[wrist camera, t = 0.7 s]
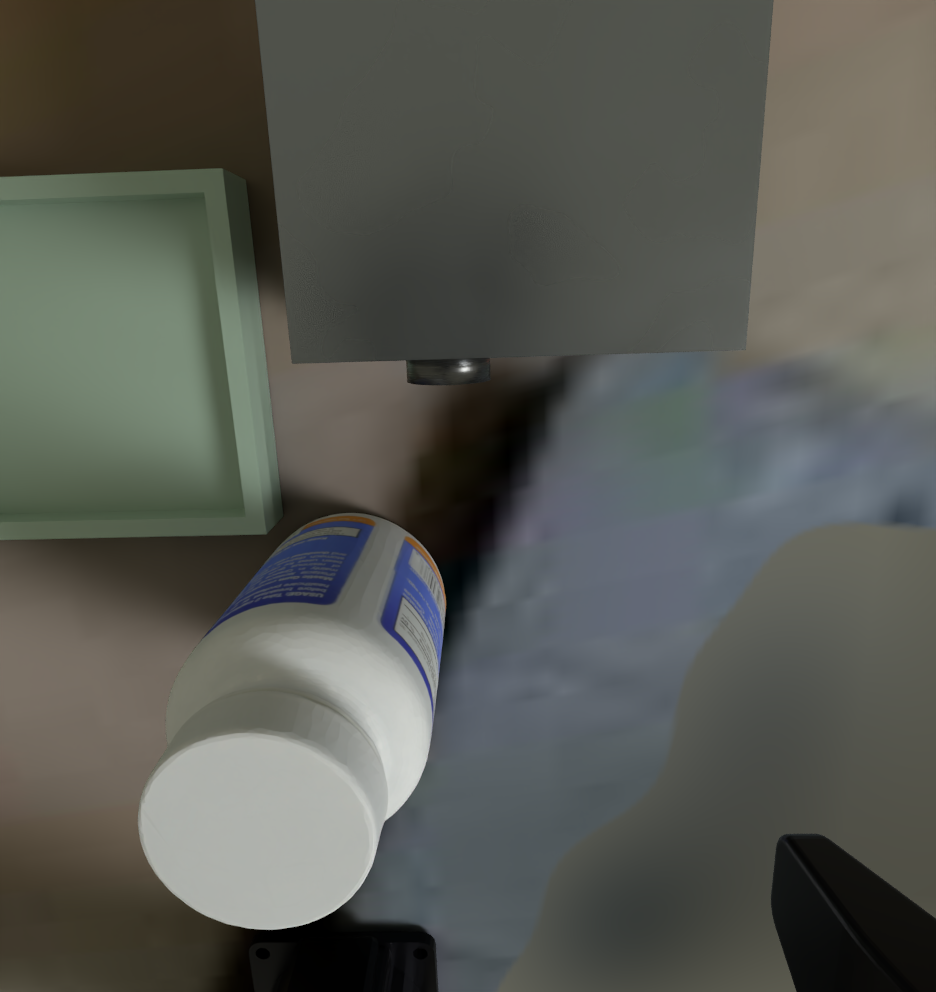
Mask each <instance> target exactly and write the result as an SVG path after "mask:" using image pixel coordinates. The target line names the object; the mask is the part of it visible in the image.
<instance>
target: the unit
mask: <svg viewBox="0 0 936 992" xmlns="http://www.w3.org/2000/svg"><path fill="white" fill-rule="evenodd" d="M255 5H256V15H257V24H258V34H259V44H260V54H261V64H262V74H263V83H264V93H265V103H266V113H267V123H268V133H269V142H270V152H271V162H272V172H273V182H274V192H275V201H276V211H277V221H278V231H279V241H280V251H281V260H282V270H283V280H284V290H285V300H286V310H287V319H288V329H289V339H290V349H291V359H292V364H297V363H330V362H363V361H397V360H406V366H407V382H408V383H411V384H418V385H458V384H471V383H479V382H484V381H488V380H490V358H497V357H530V356H563V355H597V354H630V353H663V352H697V351H730V350H746V338H747V326H748V313H749V301H750V288H751V276H752V263H753V251H754V238H755V225H756V213H757V200H758V188H759V175H760V163H761V150H762V138H763V125H764V112H765V100H766V87H767V75H768V62H769V50H770V37H771V25H772V12H773V0H255Z"/></svg>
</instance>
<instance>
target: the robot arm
mask: <svg viewBox="0 0 936 992" xmlns="http://www.w3.org/2000/svg"><path fill="white" fill-rule="evenodd" d="M771 908H772V915H773V919H774V923H775V927H776V930H777V933H778V936H779V939H780V942H781V945H782V948H783V951H784V955H785V958H786V961H787V964H788V967H789V970H790V973H791V976H792V979H793V982H794V985H795V988H796V991H797V992H936V918H934V917H933V916H932V915H930V914H929V913H928V912H926V911H925V910H924V909H922V908H921V907H919V906H918V905H917V904H916V903H914V902H913V901H912V900H910V899H909V898H908V897H906V896H905V895H903V894H902V893H901V892H899V891H898V890H897V889H895V888H894V887H893V886H891V885H890V884H889V883H887V882H886V881H884V880H883V879H882V878H880V877H879V876H878V875H877V874H875V873H874V872H873V871H871V870H870V869H869V868H867V867H866V866H865V865H863V864H862V863H861V862H859V861H858V860H857V859H855V858H854V857H853V856H851V855H850V854H848V853H847V852H846V851H844V850H843V849H842V848H840V847H839V846H838V845H836V844H835V843H834V842H832V841H831V840H830V839H828V838H826V837H825V836H823V835H819V834H786V835H783V836H781V837H780V838H779V840H778V843H777V847H776V854H775V865H774V873H773V883H772V892H771ZM419 948H423V949H419ZM249 959H250V965H251V972H252V978H253V985H254V991H255V992H438V977H437V959H436V943H435V940H434V938H433V937H432V936H431V935H429V934H427V933H423V932H263V933H259V934H257V935H255V937H254V938H253V940H252V943H251V946H250V948H249Z"/></svg>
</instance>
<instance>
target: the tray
mask: <svg viewBox="0 0 936 992" xmlns="http://www.w3.org/2000/svg"><path fill="white" fill-rule="evenodd" d="M282 517H283V507H282V498H281V489H280V480H279V471H278V462H277V453H276V444H275V435H274V426H273V418H272V409H271V400H270V391H269V382H268V373H267V364H266V355H265V346H264V337H263V328H262V319H261V310H260V301H259V292H258V284H257V275H256V266H255V257H254V248H253V239H252V230H251V221H250V212H249V203H248V194H247V185H246V180H245V179H243V178H241V177H239V176H237V175H235V174H233V173H231V172H229V171H227V170H225V169H223V168H214V169H189V170H164V171H139V172H114V173H90V174H65V175H40V176H15V177H0V540H25V539H72V538H119V537H167V536H214V535H261V534H267V533H268V532H269V531H270V530H271V529H272V528H273V527H274V526H275V525H276V524H277V523H278V522H279V520H280V519H281V518H282Z"/></svg>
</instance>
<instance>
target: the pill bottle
mask: <svg viewBox="0 0 936 992" xmlns="http://www.w3.org/2000/svg"><path fill="white" fill-rule="evenodd" d="M445 610H446V597H445V592H444V586H443V582H442V578H441V575H440V573H439V570H438V568H437V566H436V564H435V562H434V560H433V559H432V557H431V556H430V554H429V553H428V551H427V550H426V549H425V548H424V547H423V545H422V544H421V543H420V542H419V541H418V540H417V539H415V538H414V537H413V536H412V535H411V534H409V533H408V532H407V531H405V530H404V529H402V528H401V527H399V526H398V525H396V524H394V523H392V522H390V521H388V520H385V519H382V518H380V517H376V516H372V515H368V514H361V513H340V514H334V515H329V516H326V517H322V518H319V519H316V520H314V521H312V522H310V523H308V524H306V525H304V526H302V527H301V528H299V529H298V530H296V531H295V532H294V533H293V534H291V535H290V536H289V537H288V538H287V539H286V540H285V541H284V542H282V543H281V544H280V546H279V547H278V548H277V549H276V550H275V551H274V552H273V554H272V555H271V556H270V557H269V558H268V560H267V561H266V562H265V563H264V565H263V566H262V567H261V568H260V570H259V571H258V572H257V573H256V574H255V576H254V577H253V578H252V579H251V580H250V582H249V583H248V584H247V585H246V587H245V588H244V589H243V590H242V592H241V593H240V594H239V595H238V596H237V598H236V599H235V600H234V601H233V603H232V604H231V605H230V606H229V607H228V609H227V610H226V611H225V612H224V613H223V615H222V616H221V617H220V618H219V619H218V621H217V622H216V623H215V624H214V625H213V627H212V628H211V629H210V630H209V631H208V633H207V634H206V635H205V636H204V638H203V639H202V640H201V641H200V643H199V644H198V645H197V646H196V647H195V649H194V650H193V651H192V653H191V654H190V656H189V657H188V659H187V660H186V662H185V663H184V665H183V666H182V668H181V670H180V671H179V673H178V675H177V678H176V680H175V682H174V684H173V687H172V689H171V692H170V696H169V700H168V705H167V711H166V739H167V746H168V747H167V749H166V750H165V752H164V754H163V755H162V757H161V758H160V760H159V761H158V763H157V765H156V766H155V768H154V769H153V771H152V772H151V774H150V776H149V778H148V780H147V782H146V784H145V786H144V789H143V792H142V796H141V799H140V803H139V811H138V829H139V836H140V840H141V845H142V848H143V851H144V854H145V856H146V858H147V860H148V862H149V864H150V866H151V867H152V869H153V871H154V872H155V874H156V875H157V876H158V878H159V879H160V880H161V881H162V882H163V884H164V885H165V886H166V887H167V888H168V889H169V890H170V891H171V892H172V893H173V894H174V895H175V896H177V897H178V898H179V899H181V900H182V901H183V902H184V903H185V904H187V905H188V906H190V907H191V908H193V909H194V910H196V911H198V912H200V913H202V914H203V915H205V916H207V917H210V918H212V919H215V920H217V921H220V922H223V923H225V924H229V925H234V926H239V927H244V928H249V929H262V930H276V929H284V928H290V927H296V926H301V925H304V924H309V923H310V922H313V921H316V920H318V919H320V918H322V917H325V916H326V915H328V914H330V913H332V912H334V911H335V910H336V909H338V908H339V907H340V906H342V905H343V904H344V903H345V902H347V901H348V900H349V899H350V898H351V897H352V896H353V895H354V894H355V892H356V891H357V890H358V889H359V888H360V886H361V885H362V883H363V882H364V880H365V878H366V877H367V875H368V873H369V871H370V869H371V867H372V864H373V861H374V857H375V854H376V850H377V846H378V841H379V837H380V833H381V829H382V827H383V824H384V821H385V820H387V819H388V818H389V817H391V816H392V815H393V814H394V813H395V812H396V811H397V810H398V809H399V808H400V807H401V806H402V805H403V804H404V803H405V802H406V800H407V799H408V798H409V796H410V795H411V793H412V792H413V790H414V789H415V787H416V785H417V783H418V782H419V780H420V777H421V775H422V772H423V770H424V767H425V764H426V761H427V757H428V752H429V747H430V741H431V734H432V727H433V720H434V710H435V702H436V694H437V687H438V677H439V667H440V659H441V650H442V642H443V632H444V621H445Z"/></svg>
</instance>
